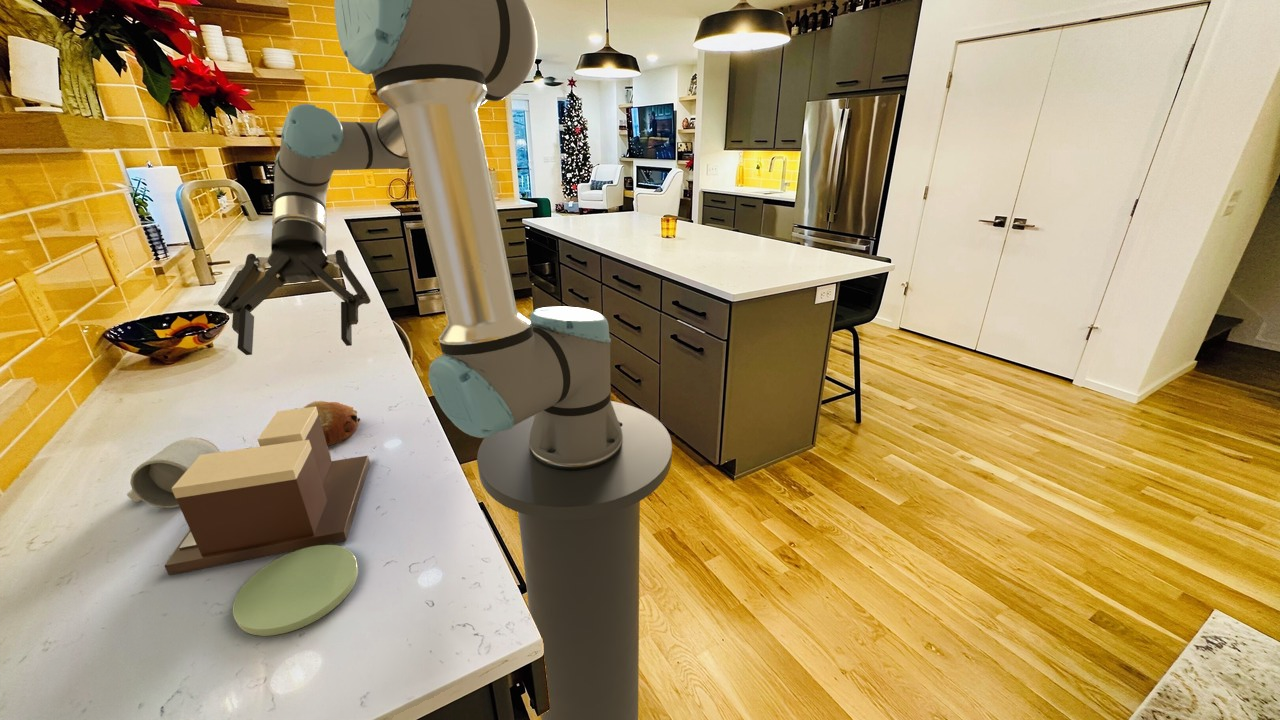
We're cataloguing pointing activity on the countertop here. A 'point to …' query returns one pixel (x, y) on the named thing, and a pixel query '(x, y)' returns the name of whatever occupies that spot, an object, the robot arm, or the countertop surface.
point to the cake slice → (299, 434)
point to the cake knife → (188, 542)
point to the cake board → (332, 528)
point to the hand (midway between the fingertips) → (297, 347)
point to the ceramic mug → (166, 471)
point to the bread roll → (336, 420)
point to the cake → (251, 496)
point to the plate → (295, 590)
